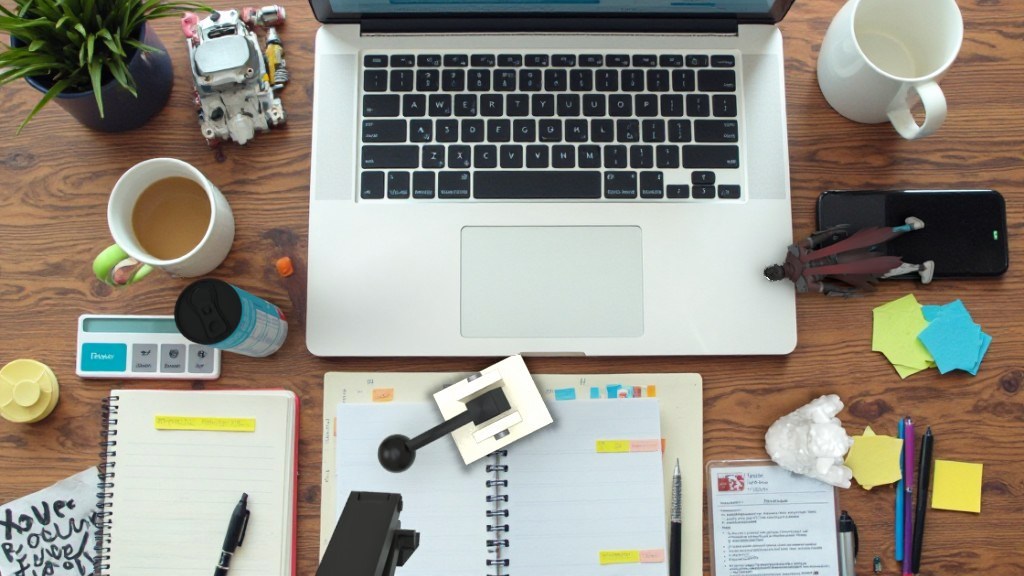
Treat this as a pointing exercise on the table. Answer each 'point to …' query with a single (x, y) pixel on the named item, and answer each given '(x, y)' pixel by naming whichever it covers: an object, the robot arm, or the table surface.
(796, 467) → the sitting furry creature
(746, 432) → the table surface
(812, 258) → the action figure
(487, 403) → the switch
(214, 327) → the beverage can
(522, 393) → the white c-shaped piece
